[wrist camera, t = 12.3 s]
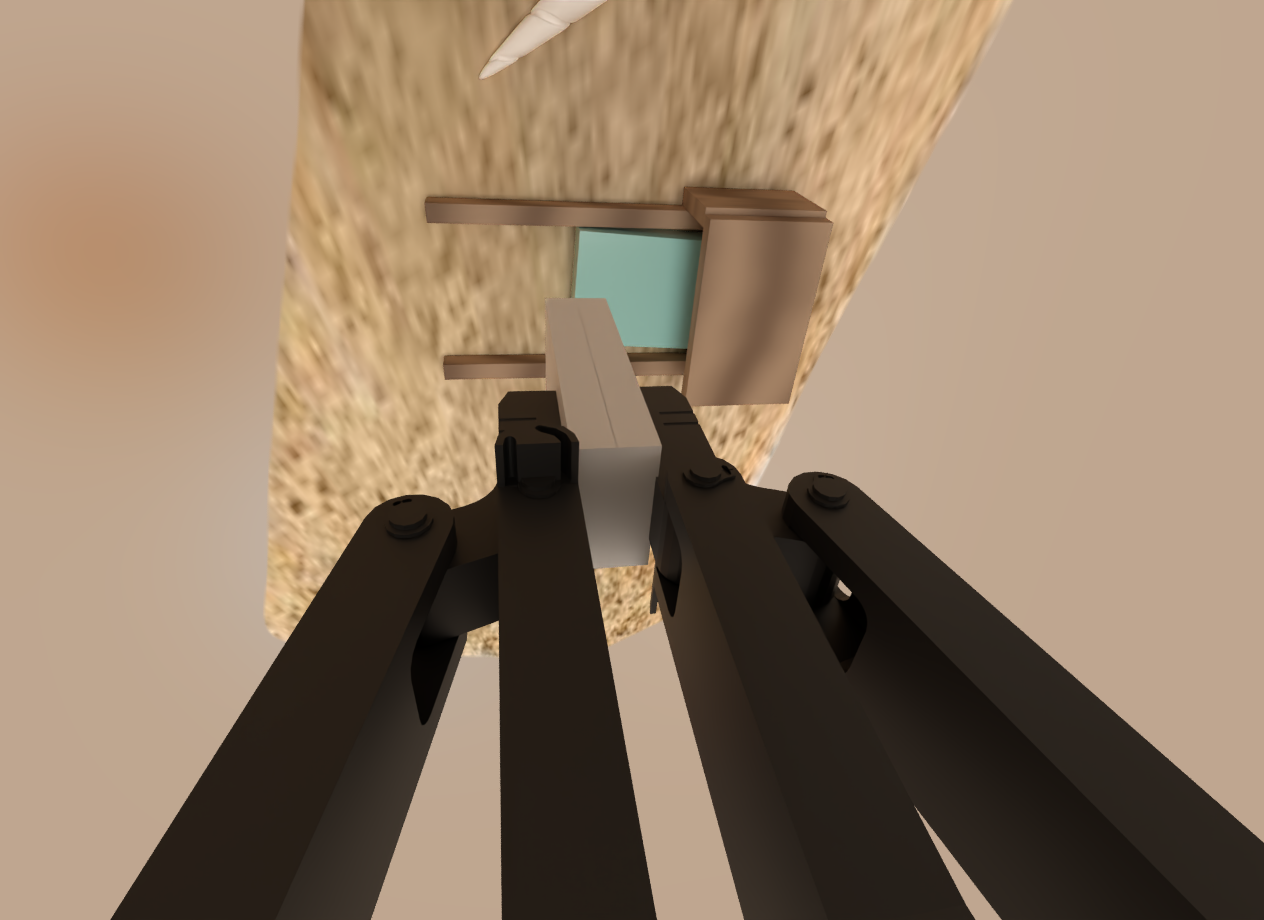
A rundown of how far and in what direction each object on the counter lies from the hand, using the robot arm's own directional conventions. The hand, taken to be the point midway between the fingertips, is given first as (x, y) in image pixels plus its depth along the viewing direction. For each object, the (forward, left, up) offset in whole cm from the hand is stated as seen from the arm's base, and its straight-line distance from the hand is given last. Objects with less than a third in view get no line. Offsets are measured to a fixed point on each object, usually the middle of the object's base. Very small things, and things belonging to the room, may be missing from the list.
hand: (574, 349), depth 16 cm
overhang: (+11, -1, -29) cm, 31 cm away
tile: (+13, +1, -30) cm, 32 cm away
